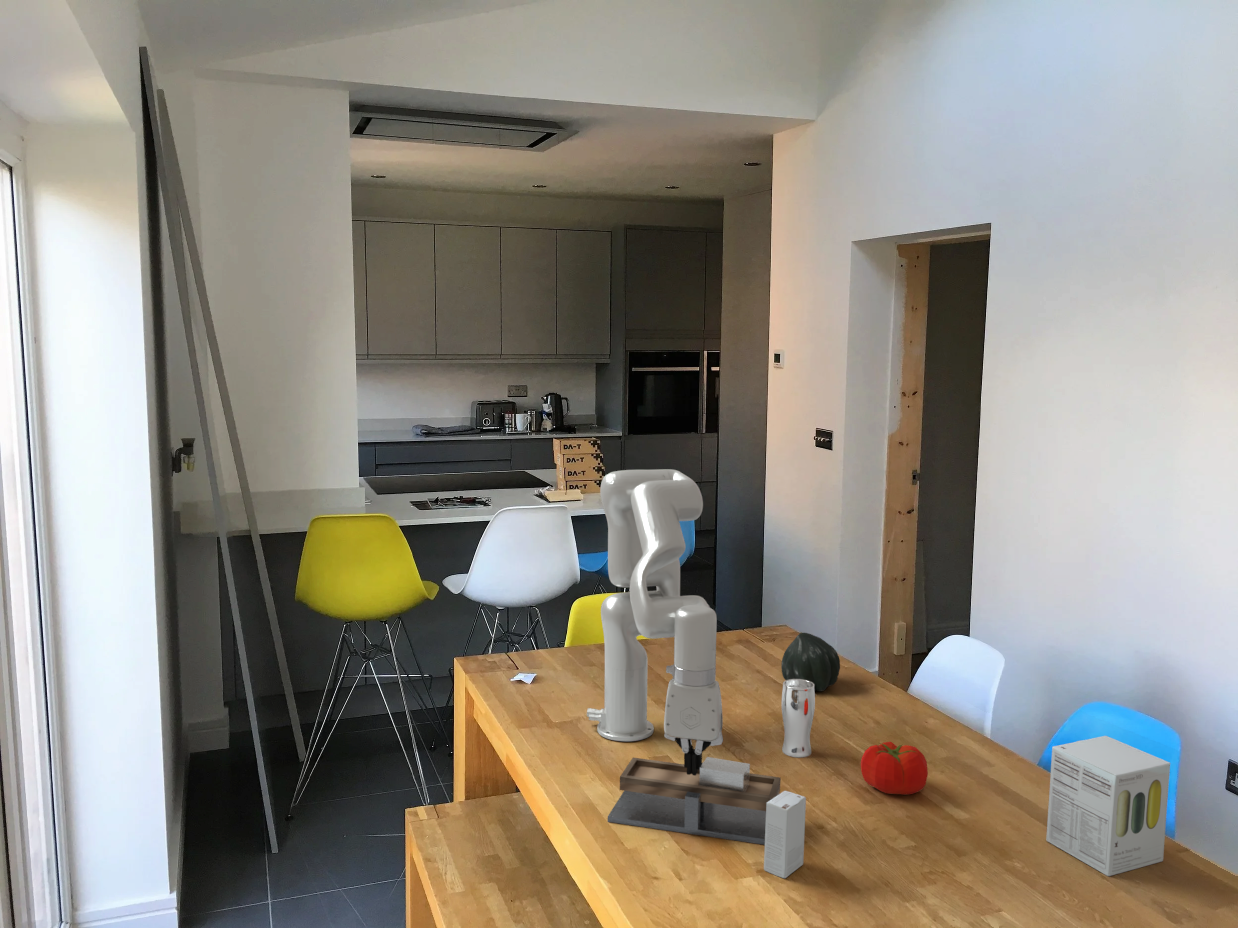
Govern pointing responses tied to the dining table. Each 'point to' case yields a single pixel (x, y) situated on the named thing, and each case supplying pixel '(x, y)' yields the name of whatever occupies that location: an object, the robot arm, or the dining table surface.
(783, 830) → the skincare box
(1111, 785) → the supplement box
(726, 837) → the pivot stand
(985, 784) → the dining table surface
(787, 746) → the beer glass
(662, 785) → the long rimmed wooden tray
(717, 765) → the steel block
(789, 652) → the squash
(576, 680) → the dining table surface
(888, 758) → the tomato
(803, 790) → the dining table surface
